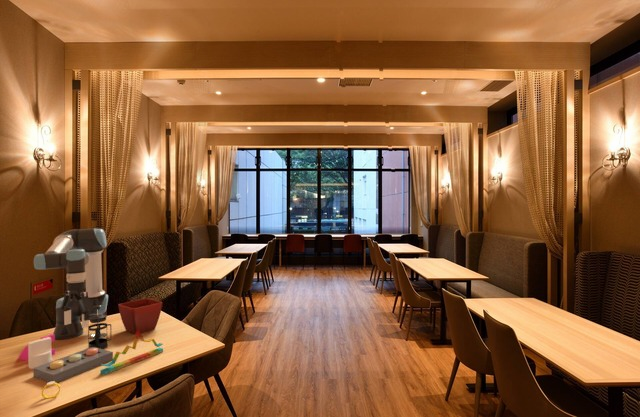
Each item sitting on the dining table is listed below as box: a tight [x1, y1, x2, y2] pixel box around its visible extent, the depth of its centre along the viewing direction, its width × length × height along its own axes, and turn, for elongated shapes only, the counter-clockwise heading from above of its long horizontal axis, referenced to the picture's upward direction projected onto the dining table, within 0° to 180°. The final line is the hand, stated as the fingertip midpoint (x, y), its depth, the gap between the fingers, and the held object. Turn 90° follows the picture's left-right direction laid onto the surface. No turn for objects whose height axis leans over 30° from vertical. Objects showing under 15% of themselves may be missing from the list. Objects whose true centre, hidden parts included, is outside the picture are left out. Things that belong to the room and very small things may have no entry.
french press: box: [87, 305, 112, 350], centre depth 196 cm, size 12×9×23 cm
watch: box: [41, 381, 61, 400], centre depth 145 cm, size 6×3×6 cm, turn 120°
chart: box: [99, 331, 164, 376], centre depth 177 cm, size 30×3×15 cm, turn 149°
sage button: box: [68, 353, 81, 363], centre depth 171 cm, size 5×5×3 cm
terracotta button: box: [85, 348, 98, 357], centre depth 178 cm, size 5×5×3 cm
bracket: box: [17, 333, 56, 362], centre depth 185 cm, size 12×10×10 cm
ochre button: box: [50, 359, 64, 370], centre depth 164 cm, size 5×5×3 cm
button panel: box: [32, 347, 114, 384], centre depth 171 cm, size 16×27×4 cm, turn 154°
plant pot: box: [118, 297, 163, 335], centre depth 224 cm, size 19×19×17 cm
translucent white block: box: [27, 337, 53, 370], centre depth 175 cm, size 9×9×12 cm
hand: (76, 325), depth 171 cm, fingers open, 13 cm apart
